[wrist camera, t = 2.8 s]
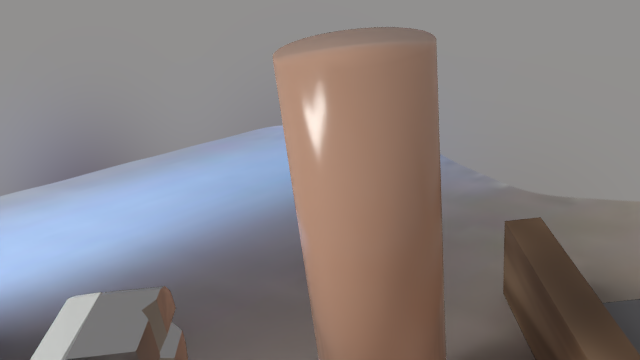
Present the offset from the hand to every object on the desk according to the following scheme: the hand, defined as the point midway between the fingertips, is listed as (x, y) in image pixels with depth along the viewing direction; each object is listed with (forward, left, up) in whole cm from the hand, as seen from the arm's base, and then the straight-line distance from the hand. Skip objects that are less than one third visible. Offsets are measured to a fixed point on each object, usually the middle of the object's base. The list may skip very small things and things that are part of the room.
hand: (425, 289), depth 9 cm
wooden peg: (0, +12, -17) cm, 21 cm away
